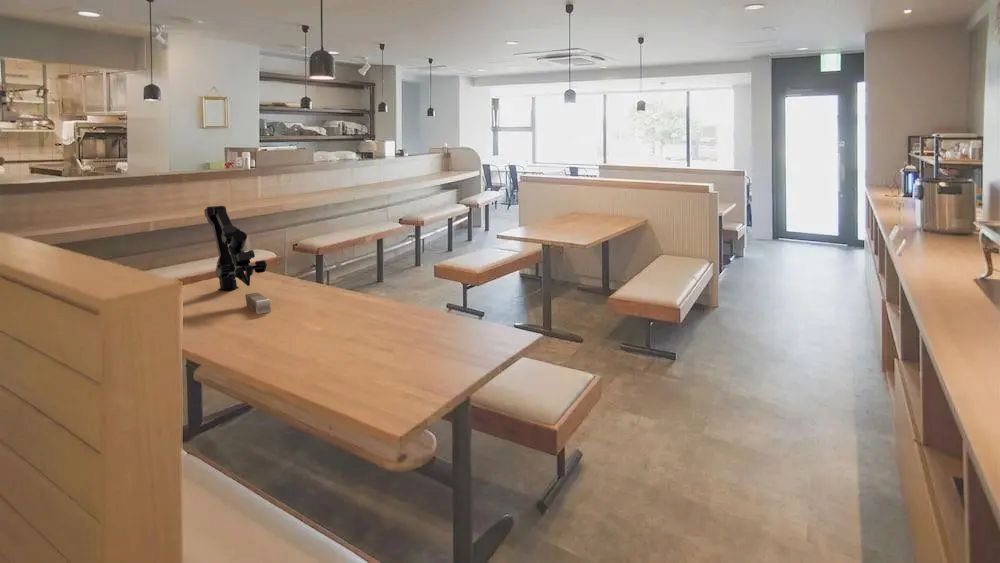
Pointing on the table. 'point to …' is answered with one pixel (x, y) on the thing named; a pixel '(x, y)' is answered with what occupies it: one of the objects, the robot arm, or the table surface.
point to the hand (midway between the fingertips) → (248, 285)
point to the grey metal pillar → (258, 303)
